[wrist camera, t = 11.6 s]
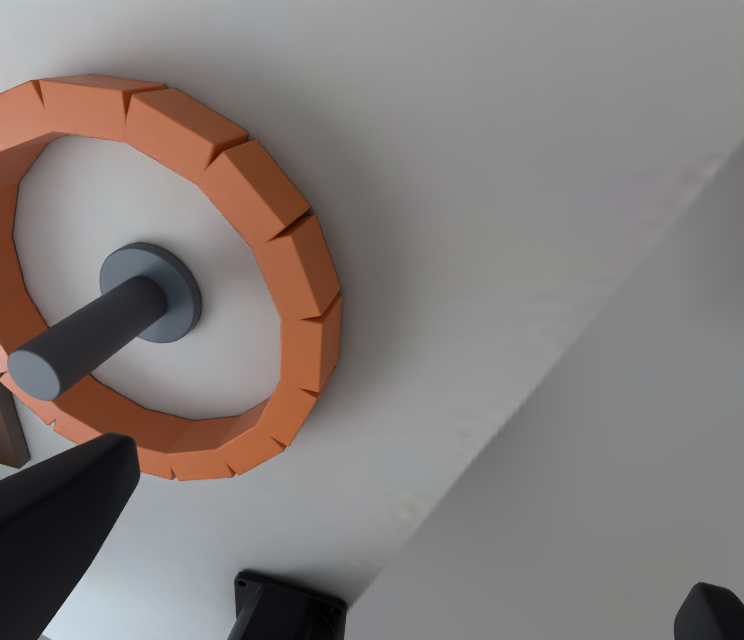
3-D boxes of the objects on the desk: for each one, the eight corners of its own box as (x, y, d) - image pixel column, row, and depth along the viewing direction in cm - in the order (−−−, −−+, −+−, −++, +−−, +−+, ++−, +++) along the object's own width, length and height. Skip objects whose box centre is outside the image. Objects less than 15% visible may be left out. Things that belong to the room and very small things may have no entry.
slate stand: (205, 345, 24) (104, 443, 18) (116, 326, 24) (-7, 414, 19) (197, 252, 21) (81, 330, 16) (100, 234, 22) (-45, 302, 17)
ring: (330, 479, 25) (313, 518, 23) (30, 403, 28) (-9, 432, 26) (355, 108, 17) (333, 118, 15) (-69, 53, 20) (-135, 55, 18)
